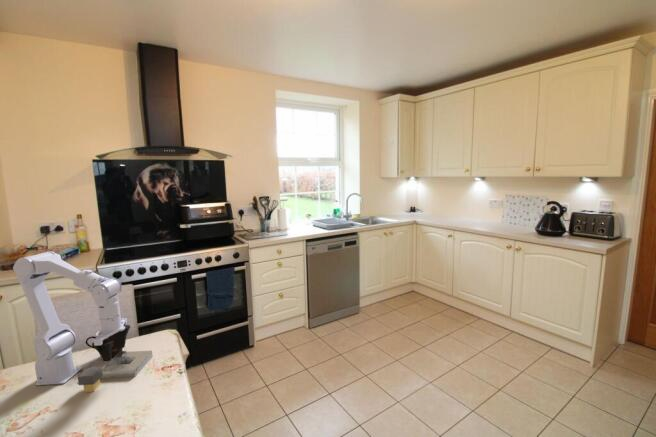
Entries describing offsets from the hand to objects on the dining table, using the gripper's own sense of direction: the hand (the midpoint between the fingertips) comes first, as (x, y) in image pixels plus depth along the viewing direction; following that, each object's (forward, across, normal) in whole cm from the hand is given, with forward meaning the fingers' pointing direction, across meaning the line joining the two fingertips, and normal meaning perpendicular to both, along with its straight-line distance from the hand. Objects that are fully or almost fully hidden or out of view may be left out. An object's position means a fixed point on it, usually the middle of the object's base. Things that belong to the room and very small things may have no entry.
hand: (114, 353), depth 103 cm
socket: (+10, +8, +1) cm, 12 cm away
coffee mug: (+10, +17, +13) cm, 23 cm away
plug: (+10, -3, +6) cm, 12 cm away
